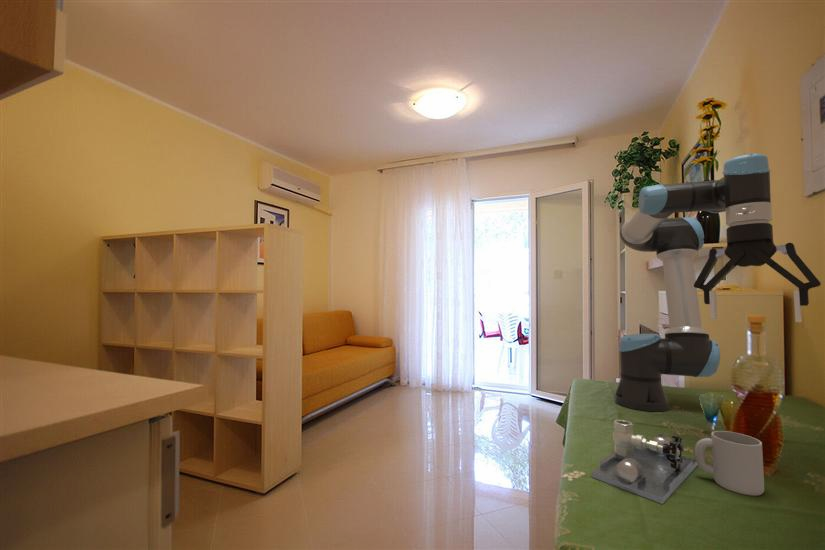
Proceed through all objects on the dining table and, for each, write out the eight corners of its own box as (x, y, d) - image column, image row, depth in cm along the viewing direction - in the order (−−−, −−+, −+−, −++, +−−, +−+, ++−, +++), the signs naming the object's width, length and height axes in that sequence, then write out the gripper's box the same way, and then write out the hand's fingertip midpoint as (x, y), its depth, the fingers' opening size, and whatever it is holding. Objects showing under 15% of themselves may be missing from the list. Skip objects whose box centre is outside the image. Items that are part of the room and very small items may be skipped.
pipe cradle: (635, 446, 86) (634, 427, 86) (697, 465, 76) (696, 442, 77) (591, 477, 71) (590, 453, 71) (662, 504, 62) (661, 476, 62)
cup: (769, 501, 63) (766, 449, 64) (696, 484, 69) (695, 436, 69) (759, 483, 69) (757, 436, 70) (693, 469, 75) (692, 425, 75)
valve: (607, 454, 77) (675, 475, 68) (606, 423, 77) (674, 439, 68) (619, 446, 81) (684, 465, 72) (618, 416, 81) (683, 431, 72)
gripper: (676, 230, 88) (679, 318, 86) (833, 212, 68) (841, 324, 67) (685, 234, 92) (688, 317, 91) (834, 218, 73) (841, 322, 72)
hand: (753, 320), depth 79 cm, fingers open, 13 cm apart
